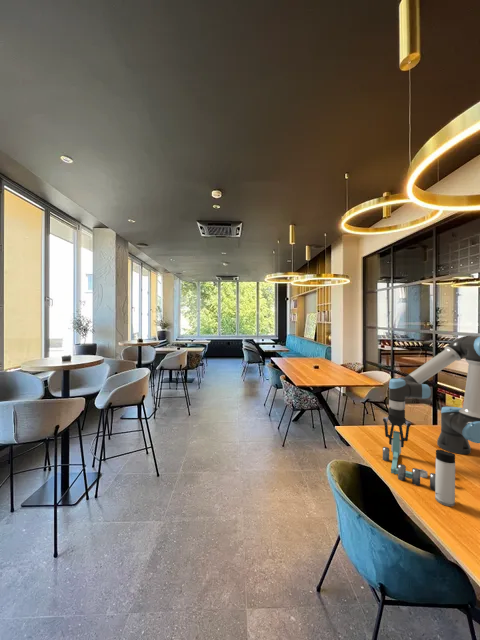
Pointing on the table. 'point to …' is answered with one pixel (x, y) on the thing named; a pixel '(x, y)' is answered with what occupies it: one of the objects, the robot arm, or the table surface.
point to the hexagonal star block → (423, 473)
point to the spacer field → (414, 472)
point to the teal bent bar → (397, 454)
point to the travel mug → (445, 478)
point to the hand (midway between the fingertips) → (396, 451)
